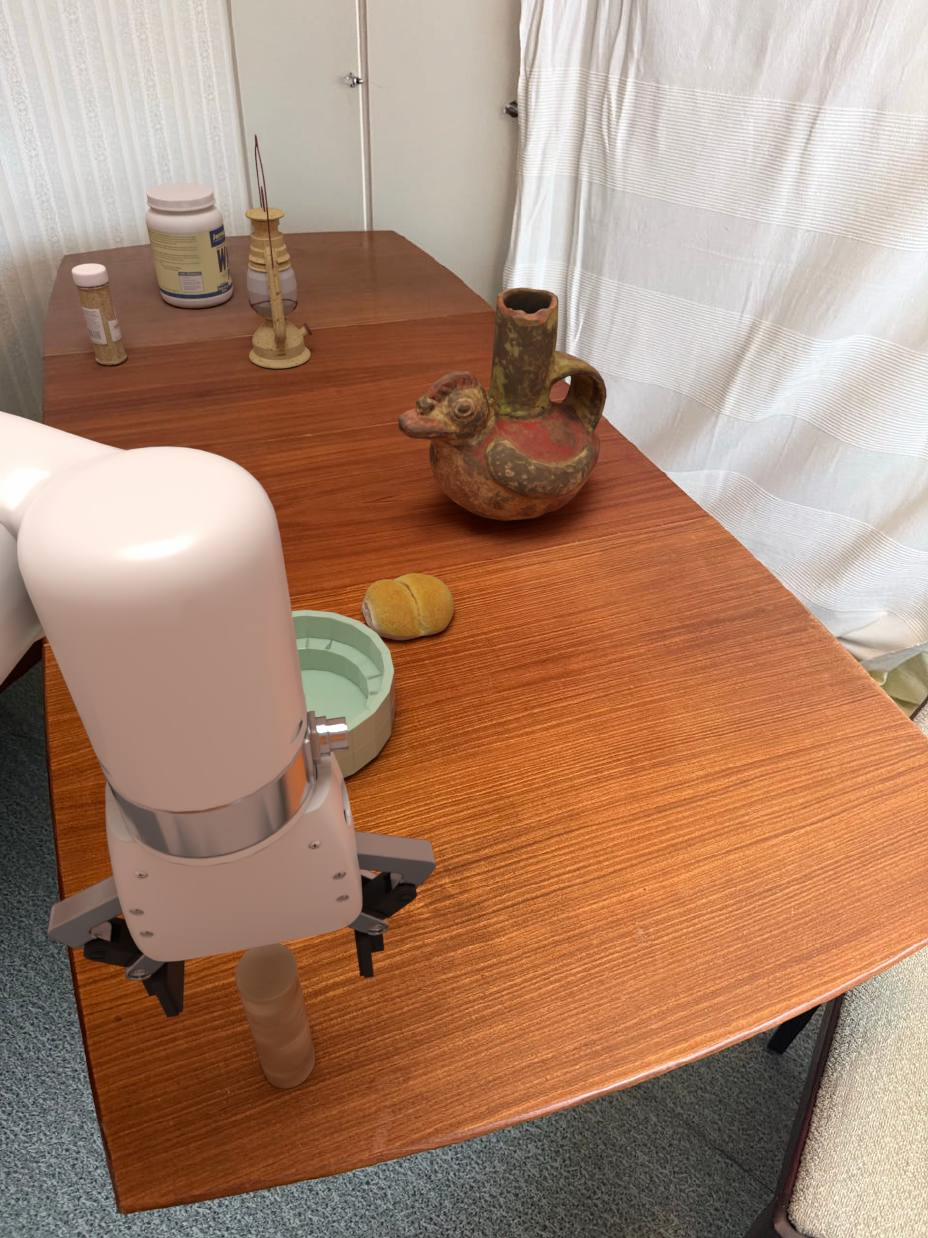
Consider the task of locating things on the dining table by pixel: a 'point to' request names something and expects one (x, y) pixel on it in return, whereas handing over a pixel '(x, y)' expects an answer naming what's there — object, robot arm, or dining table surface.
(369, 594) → the bread roll
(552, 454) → the ceramic vessel
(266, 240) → the lantern
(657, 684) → the dining table surface
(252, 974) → the stirring stick
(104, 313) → the spice jar
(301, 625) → the bowl
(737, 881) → the dining table surface
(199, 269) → the supplement tub
